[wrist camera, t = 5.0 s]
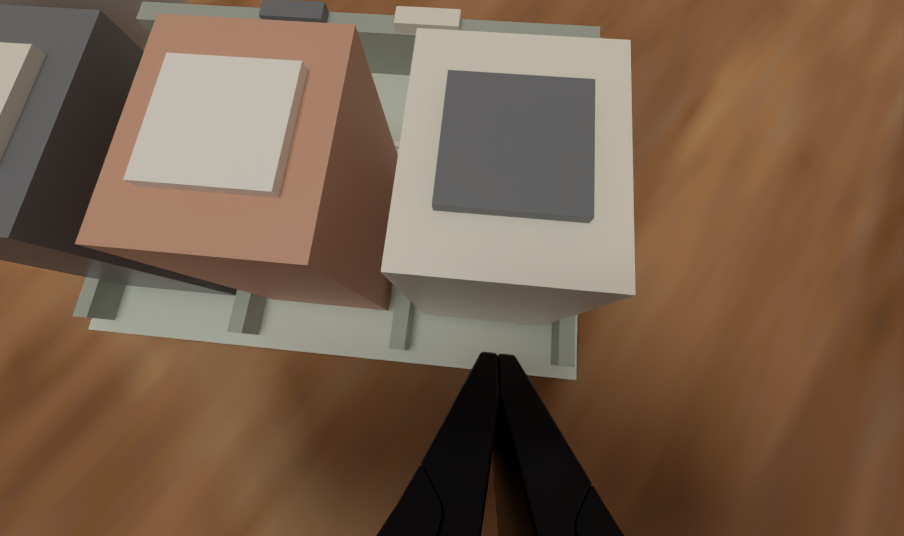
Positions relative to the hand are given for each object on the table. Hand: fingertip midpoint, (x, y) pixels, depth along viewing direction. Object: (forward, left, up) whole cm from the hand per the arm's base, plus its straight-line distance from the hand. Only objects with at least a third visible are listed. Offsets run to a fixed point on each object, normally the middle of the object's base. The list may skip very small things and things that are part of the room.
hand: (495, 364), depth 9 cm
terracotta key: (+5, -6, -6) cm, 10 cm away
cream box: (-1, -5, -6) cm, 7 cm away
